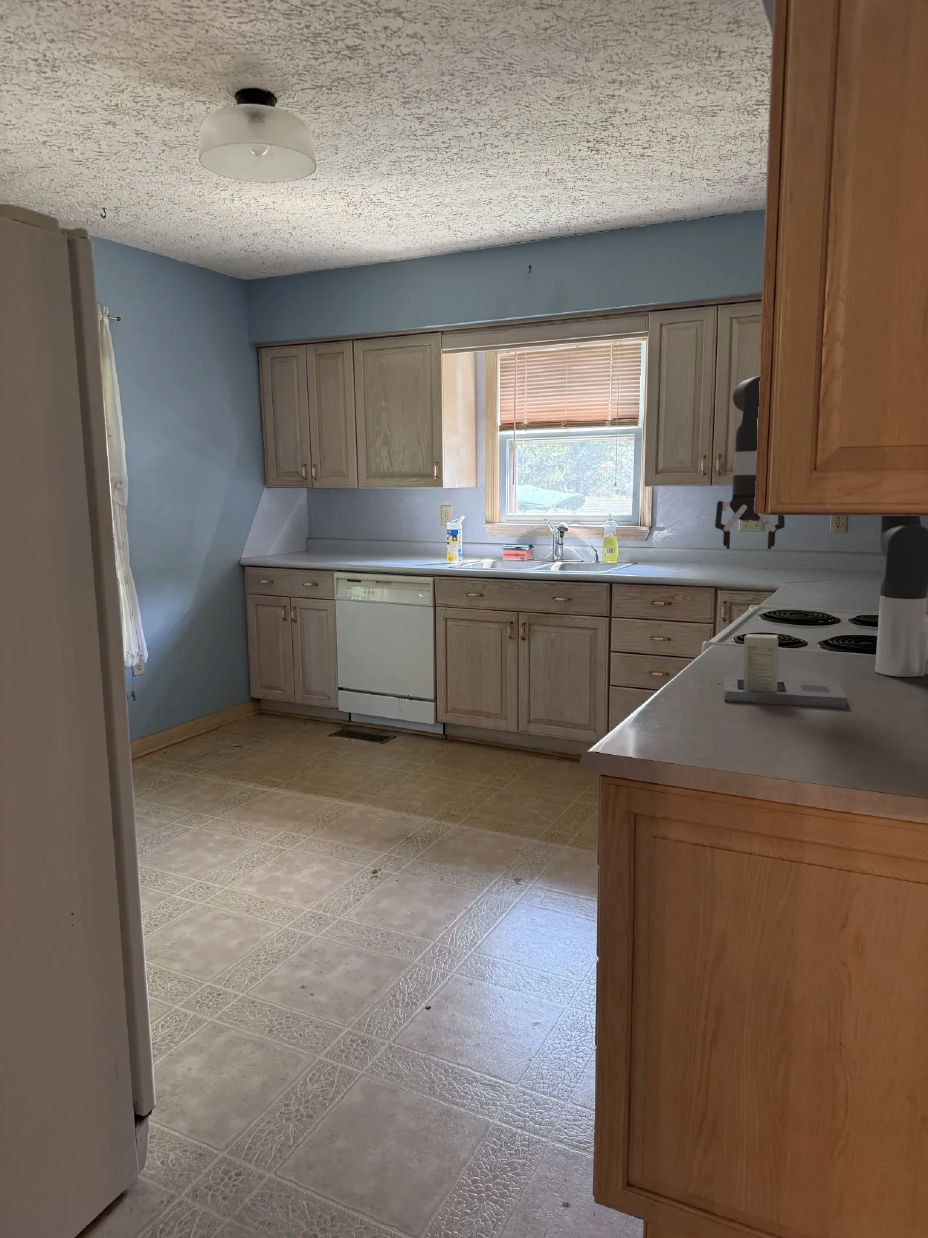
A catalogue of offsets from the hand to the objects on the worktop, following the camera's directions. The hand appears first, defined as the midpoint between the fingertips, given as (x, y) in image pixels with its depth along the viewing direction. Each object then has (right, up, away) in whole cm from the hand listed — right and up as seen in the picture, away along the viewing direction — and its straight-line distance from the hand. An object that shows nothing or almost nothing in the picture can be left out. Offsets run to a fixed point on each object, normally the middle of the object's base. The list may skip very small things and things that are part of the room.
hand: (748, 548), depth 183 cm
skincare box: (-2, -31, -14) cm, 34 cm away
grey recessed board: (+2, -31, -15) cm, 34 cm away
